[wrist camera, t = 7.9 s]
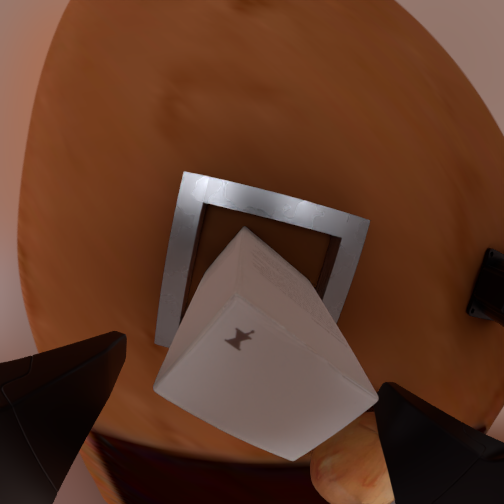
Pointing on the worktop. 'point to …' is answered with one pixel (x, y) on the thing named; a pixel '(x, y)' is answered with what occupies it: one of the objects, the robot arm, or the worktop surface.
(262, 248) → the skincare box
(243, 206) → the silver metal square frame
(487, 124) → the worktop surface
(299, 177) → the worktop surface
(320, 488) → the onion
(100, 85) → the worktop surface
